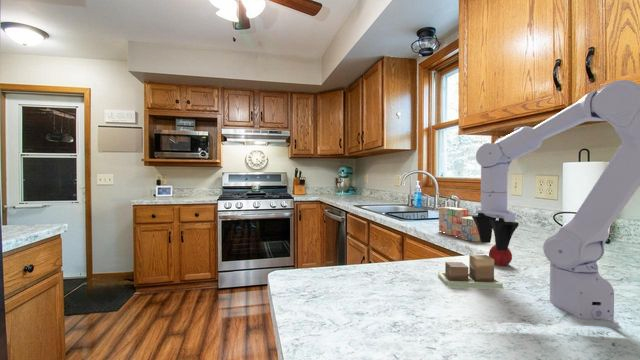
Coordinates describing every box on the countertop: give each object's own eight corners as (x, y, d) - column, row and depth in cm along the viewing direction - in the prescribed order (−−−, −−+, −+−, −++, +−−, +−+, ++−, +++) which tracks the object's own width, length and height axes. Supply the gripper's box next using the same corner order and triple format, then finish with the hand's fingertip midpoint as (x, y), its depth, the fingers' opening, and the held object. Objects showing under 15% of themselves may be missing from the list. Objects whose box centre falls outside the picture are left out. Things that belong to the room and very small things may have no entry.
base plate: (508, 295, 65) (508, 286, 65) (449, 293, 67) (449, 284, 66) (486, 279, 75) (486, 271, 75) (435, 277, 76) (435, 270, 76)
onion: (515, 271, 81) (516, 243, 81) (493, 270, 82) (493, 242, 82) (506, 265, 87) (507, 239, 87) (485, 264, 88) (486, 238, 88)
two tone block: (494, 284, 69) (494, 259, 68) (476, 284, 69) (476, 259, 69) (485, 278, 72) (486, 254, 72) (469, 278, 73) (469, 254, 73)
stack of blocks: (484, 241, 119) (485, 211, 119) (472, 242, 118) (472, 212, 117) (449, 231, 140) (449, 206, 140) (438, 232, 138) (438, 206, 138)
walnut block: (468, 283, 69) (468, 267, 69) (451, 283, 69) (451, 266, 69) (461, 277, 73) (461, 262, 73) (445, 277, 73) (445, 261, 73)
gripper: (464, 190, 80) (464, 239, 80) (492, 194, 65) (492, 253, 65) (491, 190, 79) (490, 239, 79) (525, 194, 65) (524, 254, 65)
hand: (493, 246), depth 72 cm, fingers open, 7 cm apart
